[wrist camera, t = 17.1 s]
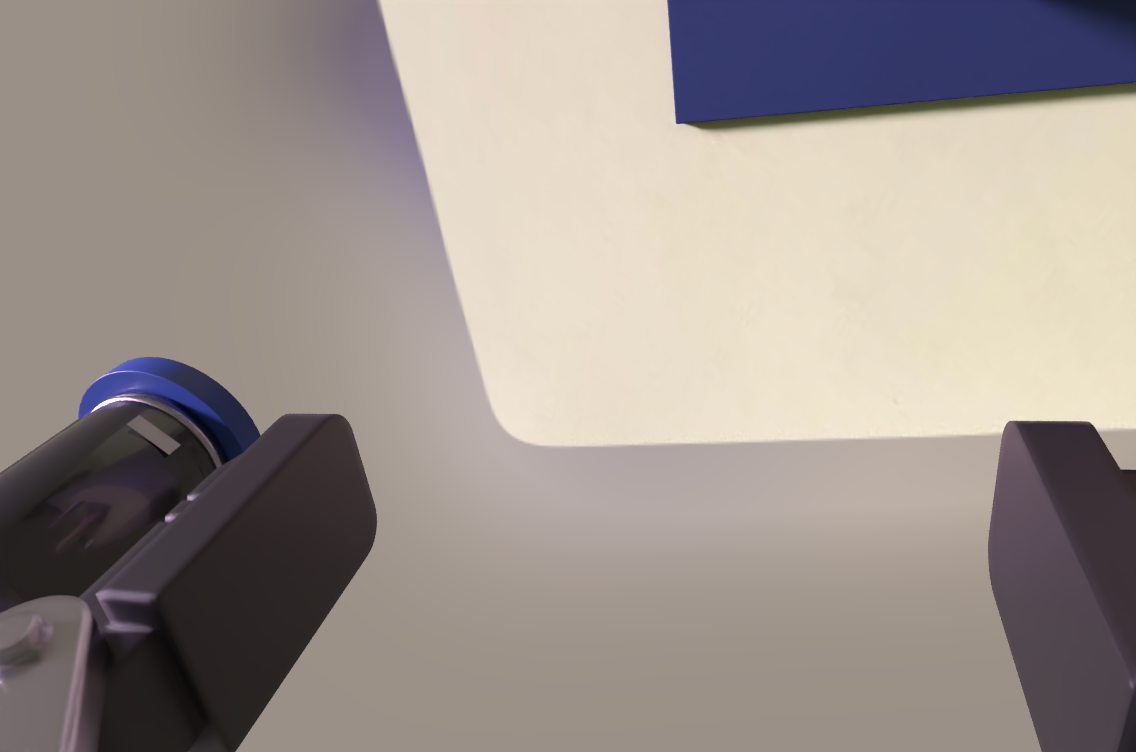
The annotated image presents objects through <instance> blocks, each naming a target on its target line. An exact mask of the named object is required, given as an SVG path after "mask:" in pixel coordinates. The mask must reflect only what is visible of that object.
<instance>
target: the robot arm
mask: <svg viewBox="0 0 1136 752" xmlns="http://www.w3.org/2000/svg"><path fill="white" fill-rule="evenodd" d="M376 516H377V515H376V509H375V504H374V501H373V498H372V494H371V491H370V488H369V484H368V481H367V477H366V474H365V471H364V468H363V465H362V461H361V457H360V454H359V451H358V447H357V444H356V441H355V438H354V434H353V431H352V428H351V426H350V424H349V422H348V421H347V420H346V419H345V418H344V417H343V416H341V415H338V414H286V415H284V416H282V417H281V418H279V419H278V420H277V421H276V422H275V423H274V424H273V425H272V426H271V427H269V428H268V430H266V431H265V432H264V433H263V434H262V435H261V436H260V437H259V438H258V439H257V440H256V441H255V442H254V443H253V444H252V445H251V446H250V447H249V448H248V449H246V450H245V451H244V452H243V453H242V454H241V455H239V456H237V457H236V458H234V459H232V460H231V461H228V458H227V456H226V454H225V451H224V449H223V448H222V446H221V444H220V442H219V441H218V439H217V438H216V437H215V435H214V434H213V433H212V431H211V430H210V429H209V428H208V427H207V426H206V425H205V424H204V423H203V422H202V421H201V420H200V419H199V418H198V417H197V416H196V415H195V414H193V413H192V412H191V411H189V410H188V409H186V408H185V407H184V406H182V405H180V404H179V403H177V402H175V401H173V400H171V399H169V398H167V397H164V396H162V395H159V394H156V393H152V392H147V391H137V390H133V391H124V392H121V393H117V394H115V395H113V396H111V397H110V398H108V399H107V400H106V401H104V402H103V403H101V404H100V405H98V406H97V407H96V408H95V409H94V410H93V411H92V412H91V413H86V414H85V415H83V416H82V417H81V418H79V419H78V420H76V421H75V422H73V423H72V424H70V425H69V426H68V427H66V428H65V429H63V430H62V431H60V432H59V433H57V434H56V435H55V436H53V437H51V438H50V439H49V440H47V441H46V442H44V443H43V444H41V445H40V446H39V447H37V448H36V449H34V450H33V451H31V452H30V453H28V454H27V455H25V456H24V457H22V458H21V459H20V460H18V461H17V462H15V463H14V464H12V465H11V466H9V467H8V468H6V469H5V470H4V471H2V472H1V473H0V752H235V751H236V750H237V748H238V747H239V746H240V744H241V742H242V741H243V740H244V738H245V736H246V735H247V734H248V732H249V731H250V729H251V728H252V726H253V725H254V723H255V722H256V720H257V719H258V717H259V716H260V714H261V713H262V711H263V710H264V708H265V707H266V705H267V704H268V702H269V701H270V700H271V698H272V697H273V695H274V694H275V692H276V691H277V689H278V688H279V686H280V684H281V683H282V682H283V680H284V679H285V677H286V676H287V674H288V673H289V671H290V670H291V668H292V667H293V665H294V664H295V662H296V661H297V660H298V658H299V657H300V655H301V654H302V652H303V651H304V649H305V648H306V646H307V645H308V643H309V642H310V640H311V639H312V637H313V636H314V634H315V633H316V631H317V630H318V628H319V627H320V625H321V624H322V622H323V621H324V619H325V618H326V616H327V615H328V614H329V612H330V611H331V609H332V608H333V606H334V604H335V603H336V601H337V600H338V599H339V597H340V596H341V594H342V593H343V591H344V590H345V588H346V587H347V585H348V584H349V582H350V581H351V579H352V578H353V576H354V575H355V573H356V572H357V570H358V569H359V568H360V566H361V565H362V563H363V561H364V560H365V559H366V557H367V556H368V554H369V552H370V550H371V548H372V546H373V542H374V539H375V535H376V526H377V517H376ZM988 559H989V572H990V579H991V585H992V590H993V594H994V597H995V600H996V604H997V607H998V610H999V613H1000V616H1001V620H1002V623H1003V626H1004V630H1005V633H1006V636H1007V639H1008V643H1009V646H1010V649H1011V652H1012V656H1013V659H1014V662H1015V665H1016V669H1017V672H1018V675H1019V678H1020V682H1021V685H1022V688H1023V691H1024V695H1025V698H1026V701H1027V705H1028V708H1029V711H1030V714H1031V718H1032V721H1033V724H1034V727H1035V730H1036V734H1037V737H1038V740H1039V744H1040V747H1041V750H1042V752H1136V470H1121V469H1120V468H1119V467H1118V465H1117V463H1116V461H1115V460H1114V458H1113V457H1112V455H1111V453H1110V452H1109V450H1108V448H1107V447H1106V445H1105V443H1104V442H1103V440H1102V438H1101V437H1100V435H1099V434H1098V432H1097V430H1096V429H1095V427H1094V426H1093V425H1092V424H1091V423H1090V422H1083V421H1009V422H1008V423H1007V424H1006V426H1005V428H1004V431H1003V435H1002V441H1001V447H1000V455H999V463H998V470H997V478H996V486H995V493H994V500H993V508H992V516H991V523H990V530H989V542H988Z"/></svg>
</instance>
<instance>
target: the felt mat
mask: <svg viewBox="0 0 1136 752" xmlns="http://www.w3.org/2000/svg"><path fill="white" fill-rule="evenodd" d="M667 1H668V15H669V30H670V44H671V58H672V73H673V87H674V101H675V116H676V124H681V123H692V122H703V121H714V120H725V119H736V118H747V117H758V116H769V115H780V114H791V113H803V112H814V111H825V110H836V109H847V108H858V107H869V106H880V105H891V104H902V103H913V102H924V101H935V100H946V99H957V98H968V97H979V96H990V95H1001V94H1012V93H1023V92H1034V91H1045V90H1056V89H1067V88H1079V87H1090V86H1101V85H1112V84H1123V83H1134V82H1136V0H667Z"/></svg>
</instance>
